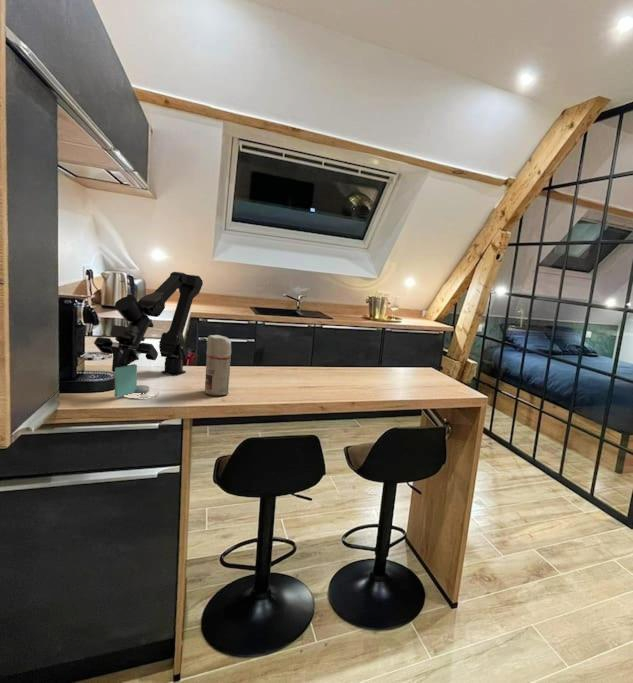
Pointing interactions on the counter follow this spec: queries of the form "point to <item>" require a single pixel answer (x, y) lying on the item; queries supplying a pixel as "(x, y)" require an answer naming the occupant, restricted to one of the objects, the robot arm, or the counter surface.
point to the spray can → (217, 365)
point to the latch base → (149, 393)
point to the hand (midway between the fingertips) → (114, 371)
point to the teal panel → (127, 381)
